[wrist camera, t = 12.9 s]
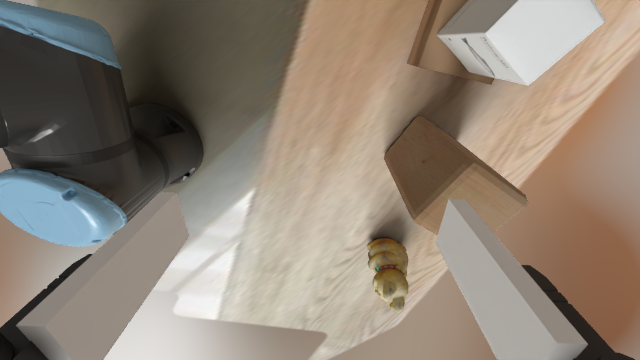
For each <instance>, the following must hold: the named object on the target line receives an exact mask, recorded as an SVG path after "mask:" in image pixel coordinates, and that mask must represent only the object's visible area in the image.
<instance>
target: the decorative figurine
mask: <svg viewBox="0 0 640 360" xmlns="http://www.w3.org/2000/svg"><path fill="white" fill-rule="evenodd" d="M367 247H368V250H369V253H368V256H369V261H368V266H369V268H370V269H373V270H374V271H375V272H376V273H377V274H376V275H375V277H374V279H373V287H374V289H375V292H376V294H377V295H379V296H380V297H381V298H382V299H383V300H384V301H386V302H391V303H390V309H391V310H392V311H393V312H395V313H399V312H401V311H402V310H403V308H404V298H405V297H406V295H407V293H408V282H407V280H406V276H407V266H408V256H407V253H406V249H405V247H404V246H402V245H401V244H399V243H398V242H396V241H395V240H392V239H388V238H381V239H377V240H375V241H373V242H371V243H369V244H368V246H367Z"/></svg>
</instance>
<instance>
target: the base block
mask: <svg viewBox="0 0 640 360" xmlns="http://www.w3.org/2000/svg"><path fill="white" fill-rule="evenodd" d="M467 1H468V0H429V1H428V4H427V7H426V10H425V13H424V15H423V18H422V21H421V24H420V27H419V30H418V33H417V36H416V39H415V42H414V44H413V47H412V50H411V53H410V56H409V59H408V62H407V64H410V65H413V66H416V67H420V68H424V69H428V70H433V71H437V72H441V73H445V74H449V75H453V76H457V77H462V78H466V79H470V80H474V81H478V82H482V83H487V84H492V82H493V80H494V78H492V77H488V76H483V75H479V74H475V73H471V72H469V71H468V70H467V69H466V68H465V66H464V65H463V64H462V63H461V61H460V60H459V59H458V58H457V57H456V56H455V54H454V53H453V52H452V51H451V50H450V49H449V48H448V47H447V45H446V44H445V43H444V42H443V41H442V40H441V39H440V38H439V37H438V36H437V34H438V32H439V31H440V30H441V29H442V28H443V27H444V26H445V25H446V24H447V23H448V22H449V21H450V19H451V18H452V17H453V16H454V15H455V14H456V13H457V12H458V11H459V10H460V9H461V8H462V7H463V5H464V4H465V3H466V2H467Z"/></svg>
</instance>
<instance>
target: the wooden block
mask: <svg viewBox="0 0 640 360" xmlns="http://www.w3.org/2000/svg"><path fill="white" fill-rule="evenodd" d="M384 160H385V162H386V164H387V166H388V168H389V170H390V173H391V175H392V177H393V179H394V181H395V183H396V185H397V187H398V190H399V192H400V194H401V196H402V198H403V200H404V202H405V205H406V207H407V209H408V211H409V213H410V215H411V217H412V219H413V220H414V222H416V223H418V224H419V225H421V226H423V227H424V228H426V229H428V230H429V231H431V232H433V233H435V234H436V235H438V233H439V229H440V226H441V223H442V219H443V216H444V213H445V209H446V206H447V203H448V199H465V200H466V201H467V202H468V204H469V205H470V206H471V207H472V208H473V210H474V211H475V212H476V213H477V214H478V215H479V217H480V218H481V219H482V220H483V221H484V222H485V224H486V225H487V226H488V227H489V228H490V229H491V231H492V232H493V233H494V232H495V231H496V230H497V229H499V228H500V227H501V226H503V225H504V224H505V223H506V222H508V221H509V220H510V219H511V218H513V217H514V216H515V215H516V214H518V213H519V212H520V211H522V210H523V209H524V208H525V207H526V206H527V205H528V200H527V198H526V195H525V194H523V193H522V192H521V191H520V190H518V189H517V188H516V187H515V186H513V185H512V184H511V183H510V182H508V181H507V180H506V179H505V178H503V177H502V176H501V175H499V174H498V173H497V172H496V171H494V170H493V169H492V168H491V167H489V166H488V165H487V164H486V163H484V162H483V161H482V160H481V159H479V158H478V157H477V156H475V155H474V154H473V153H472V152H470V151H469V150H468V149H467V148H465V147H464V146H463V145H462V144H460V143H459V142H458V141H456V140H455V139H454V138H452V137H451V136H450V135H448V134H447V133H446V132H444V131H443V130H441V129H440V128H439V127H437V126H436V125H435V124H433V123H432V122H430V121H429V120H428V119H426V118H425V117H423V116H418V117H416V118H415V119H414V120H413V121H412V123H411V124H410V125H409V126H408V127H407V129H406V130H405V131H404V132H403V133H402V135H401V136H400V137H399V138H398V139H397V141H396V142H395V143H394V144H393V145H392V147H391V148H390V149H389V150H388V151H387V153H386V154H385V156H384Z"/></svg>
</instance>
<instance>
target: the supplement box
mask: <svg viewBox="0 0 640 360" xmlns="http://www.w3.org/2000/svg"><path fill="white" fill-rule="evenodd" d="M604 22H605V19H604V17H603V15H602V13H601V12H600V10H599V9H598V7H597V6H596V4H595V3H594V1H593V0H468V1H467V2H466V3H465V4H464V5H463V7H462V8H461V9H460V10H459V11H458V12H457V13H456V14H455V15H454V16H453V17H452V18H451V19H450V21H449V22H448V23H447V24H446V25H445V26H444V27H443V28H442V29H441V30H440V31H439V32H438V34H437V36H438V37H439V38H440V39H441V40H442V41H443V42H444V43H445V44H446V45H447V47H448V48H449V49H450V50H451V51H452V52H453V53H454V54H455V56H456V57H457V58H458V59H459V60H460V61H461V63H462V64H463V65H464V66H465V68H466V69H467V70H468V71H469V72H471V73H475V74H479V75H483V76H488V77H492V78H497V79H501V80H506V81H510V82H514V83H519V84H524V85H527V86H528V85H530V84H531V83H532V82H533V81H535V80H536V79H537V78H538V77H539V76H540V75H542V74H543V73H544V72H545V71H546V70H548V69H549V68H550V67H551V66H552V65H553V64H555V63H556V62H557V61H558V60H559V59H561V58H562V57H563V56H564V55H565V54H566V53H568V52H569V51H570V50H571V49H572V48H574V47H575V46H576V45H577V44H579V43H580V42H581V41H582V40H584V39H585V38H586V37H587V36H588V35H590V34H591V33H592V32H593V31H595V30H596V29H597V28H598V27H599V26H601V25H602V24H603V23H604Z"/></svg>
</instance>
